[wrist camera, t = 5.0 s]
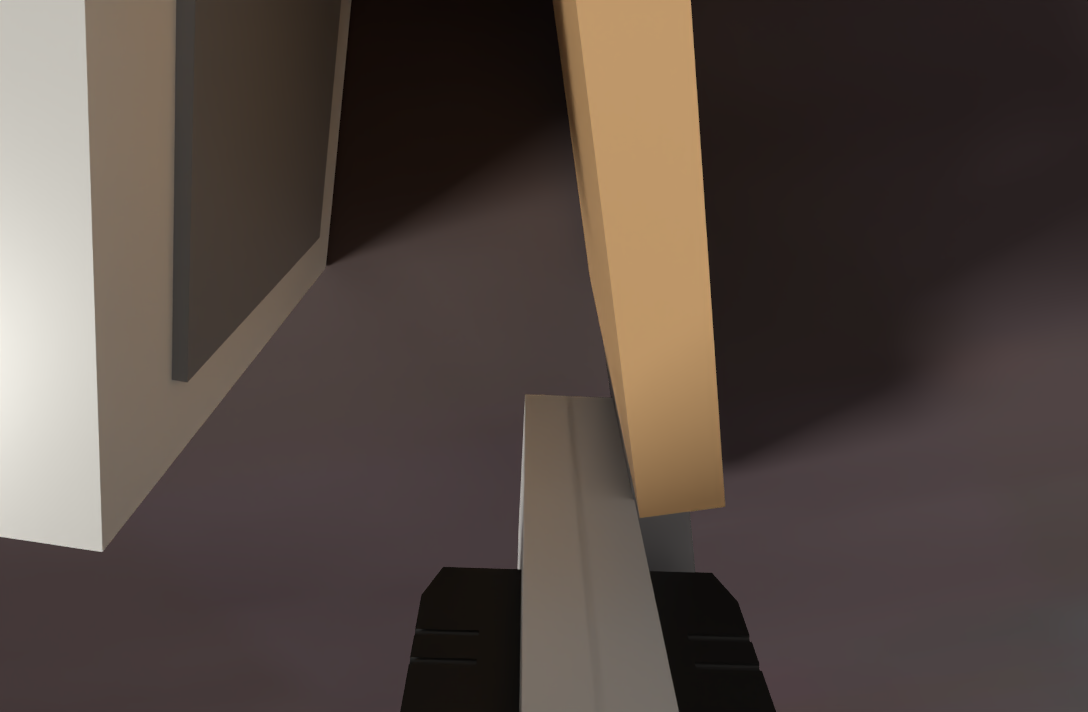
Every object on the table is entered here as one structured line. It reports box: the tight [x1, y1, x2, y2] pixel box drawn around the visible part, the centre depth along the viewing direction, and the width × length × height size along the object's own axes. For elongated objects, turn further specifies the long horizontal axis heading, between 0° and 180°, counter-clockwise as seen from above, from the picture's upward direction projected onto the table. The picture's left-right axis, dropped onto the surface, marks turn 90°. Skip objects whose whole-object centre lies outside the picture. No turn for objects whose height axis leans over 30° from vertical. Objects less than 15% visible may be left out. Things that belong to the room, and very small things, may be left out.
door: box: [553, 0, 725, 572], centre depth 9 cm, size 1×16×8 cm, turn 10°
